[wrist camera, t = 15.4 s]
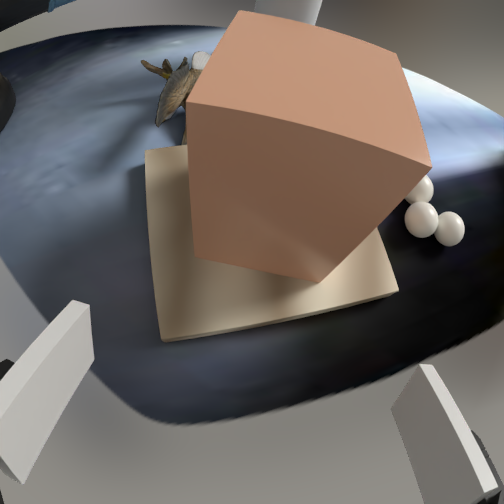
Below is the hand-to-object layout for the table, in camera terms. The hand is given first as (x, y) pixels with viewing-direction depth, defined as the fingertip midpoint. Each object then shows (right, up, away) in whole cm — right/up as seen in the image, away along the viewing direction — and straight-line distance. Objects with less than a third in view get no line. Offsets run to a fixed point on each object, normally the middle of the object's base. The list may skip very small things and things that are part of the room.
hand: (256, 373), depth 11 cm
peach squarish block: (+1, +7, +10) cm, 12 cm away
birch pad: (+1, +6, +12) cm, 13 cm away
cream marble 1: (+14, +9, +15) cm, 23 cm away
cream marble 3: (+17, +6, +14) cm, 22 cm away
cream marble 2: (+14, +7, +14) cm, 20 cm away
